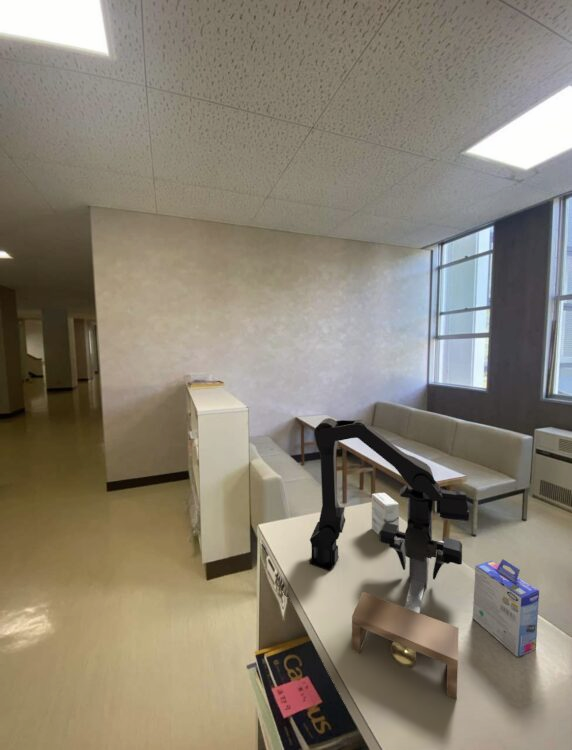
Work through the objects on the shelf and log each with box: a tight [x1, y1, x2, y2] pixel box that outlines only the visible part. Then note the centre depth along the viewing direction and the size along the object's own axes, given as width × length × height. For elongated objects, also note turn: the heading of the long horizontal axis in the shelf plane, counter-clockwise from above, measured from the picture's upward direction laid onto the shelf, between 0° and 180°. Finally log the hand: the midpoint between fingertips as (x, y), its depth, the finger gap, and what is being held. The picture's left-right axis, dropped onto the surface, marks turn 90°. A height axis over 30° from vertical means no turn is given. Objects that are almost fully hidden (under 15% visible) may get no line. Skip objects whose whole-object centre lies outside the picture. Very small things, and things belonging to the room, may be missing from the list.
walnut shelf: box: [351, 591, 460, 700], centre depth 59 cm, size 18×7×7 cm, turn 60°
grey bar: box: [404, 558, 430, 614], centre depth 73 cm, size 4×18×7 cm, turn 150°
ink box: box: [371, 492, 400, 536], centre depth 99 cm, size 9×5×12 cm, turn 15°
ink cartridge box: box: [472, 558, 540, 657], centre depth 64 cm, size 10×6×14 cm, turn 20°
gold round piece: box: [390, 641, 417, 669], centre depth 60 cm, size 4×4×2 cm
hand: (418, 573), depth 79 cm, fingers open, 7 cm apart
